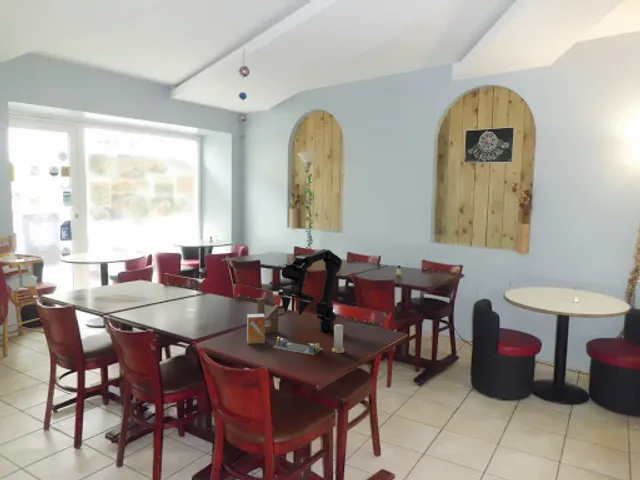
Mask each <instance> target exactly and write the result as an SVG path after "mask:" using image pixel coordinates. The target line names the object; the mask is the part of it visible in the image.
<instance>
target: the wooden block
mask: <svg viewBox="0 0 640 480" xmlns="http://www.w3.org/2000/svg"><path fill="white" fill-rule="evenodd" d="M265 300H266V299H265V297H259V298H257V311H256V312H257V313H256V314H264V316H265V321H268V320H269V324H265V334H271V333H272V334H275V333H278V332H279V305H278V304H275V305H274V306H273V307H272V308H271V309H270V310H269V311H268V312H267V313H266V314H265V312H266V311H265V309H266V308H265V307H266V306H265V303H266V301H265Z"/></svg>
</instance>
